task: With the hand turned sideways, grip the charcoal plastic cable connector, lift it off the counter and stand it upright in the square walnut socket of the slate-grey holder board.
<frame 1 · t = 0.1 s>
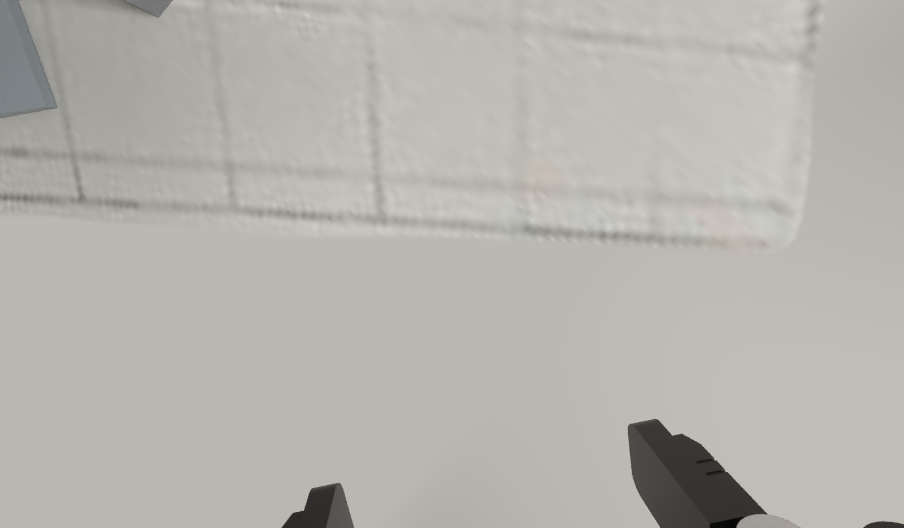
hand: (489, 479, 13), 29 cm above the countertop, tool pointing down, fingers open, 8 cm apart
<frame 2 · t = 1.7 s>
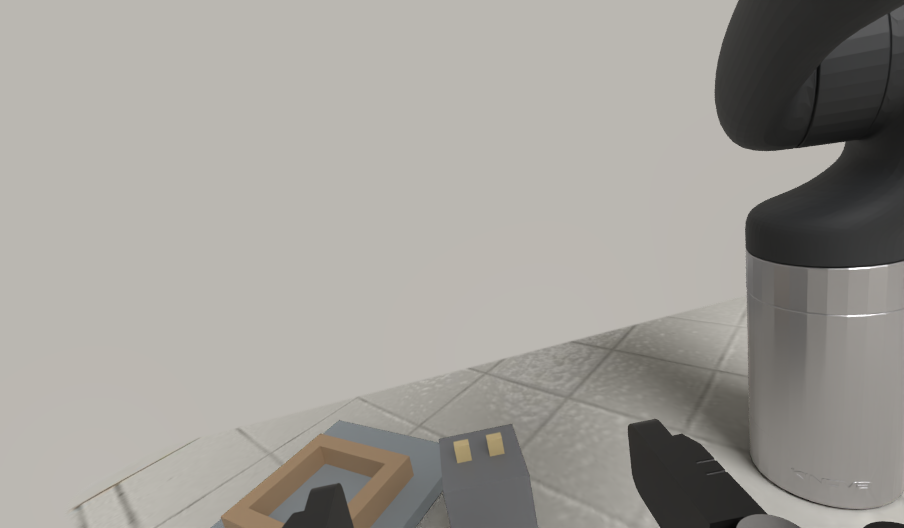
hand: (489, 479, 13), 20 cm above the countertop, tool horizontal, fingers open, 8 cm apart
holder: (328, 516, 40), on the countertop
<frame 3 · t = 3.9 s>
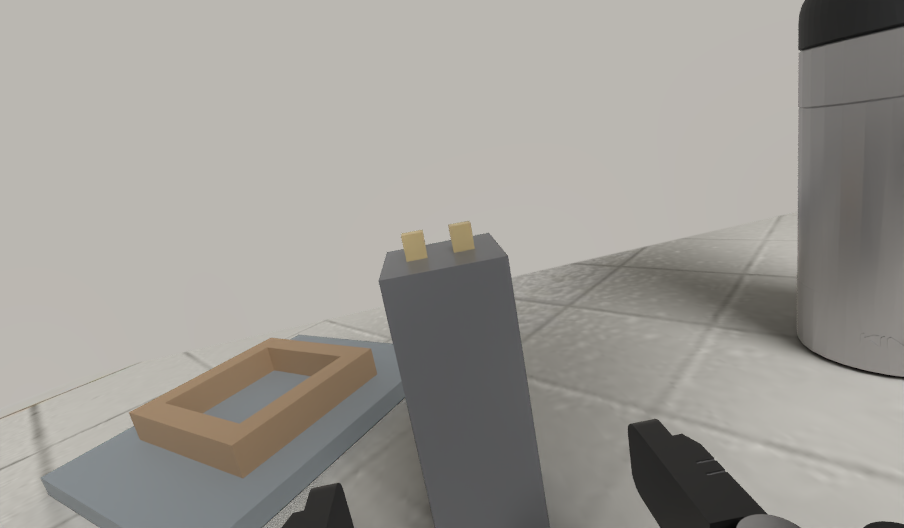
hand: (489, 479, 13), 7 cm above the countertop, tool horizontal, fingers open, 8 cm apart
holder: (269, 420, 32), on the countertop
connector: (490, 513, 21), on the countertop
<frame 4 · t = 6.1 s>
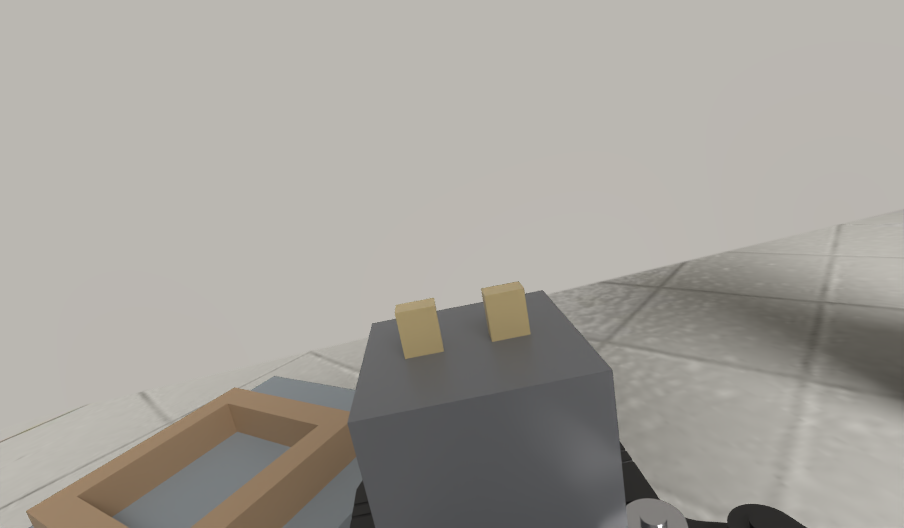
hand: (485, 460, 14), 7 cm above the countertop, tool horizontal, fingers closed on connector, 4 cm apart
holder: (222, 512, 24), on the countertop
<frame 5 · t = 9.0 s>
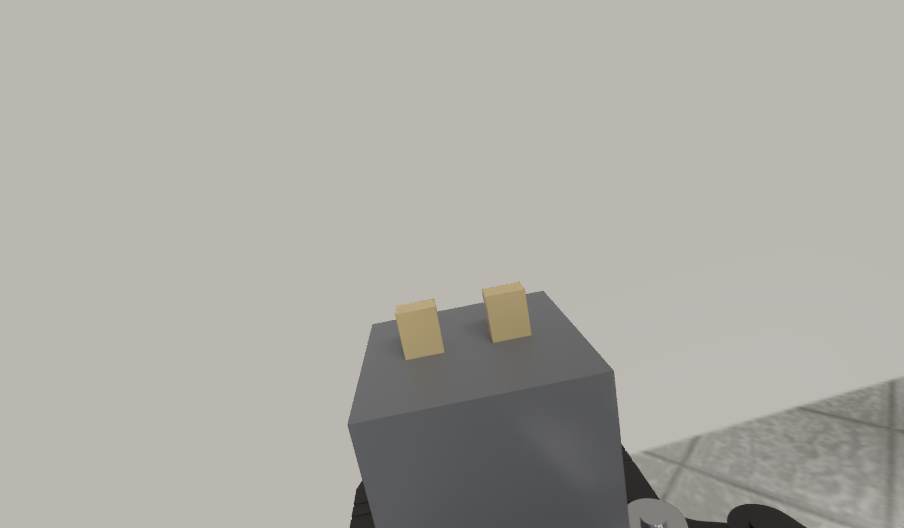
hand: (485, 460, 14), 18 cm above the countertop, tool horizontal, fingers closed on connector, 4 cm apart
when the fingers open (10 cm above the countertop, at t = 12.1 s): connector drops 1 cm, resting on holder.
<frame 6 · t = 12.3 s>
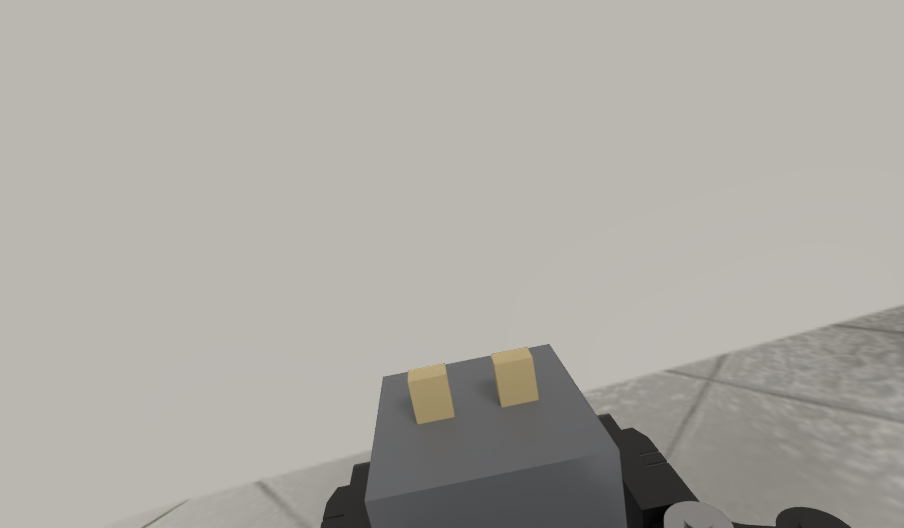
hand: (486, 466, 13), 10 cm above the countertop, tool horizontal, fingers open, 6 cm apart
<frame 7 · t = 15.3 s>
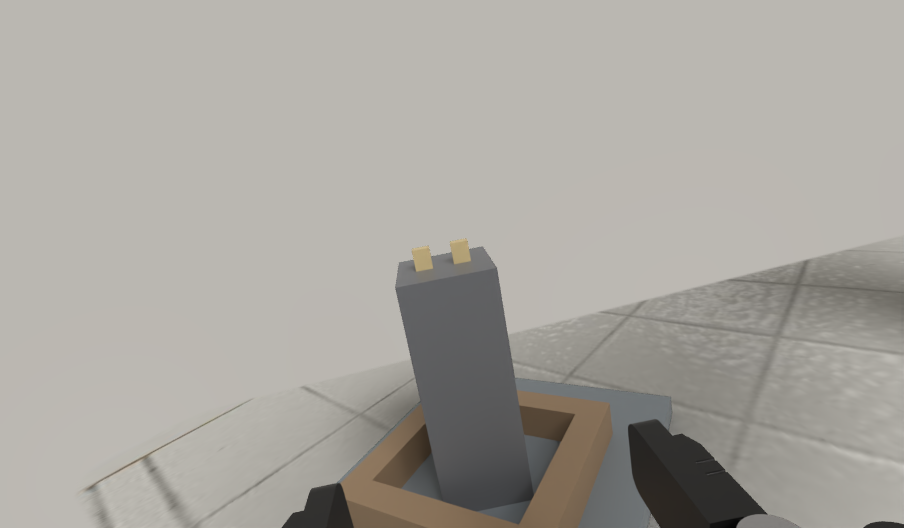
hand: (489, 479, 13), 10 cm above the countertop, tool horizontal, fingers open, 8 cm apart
holder: (487, 495, 25), on the countertop
connector: (484, 477, 25), point 1 cm above the countertop, touching holder
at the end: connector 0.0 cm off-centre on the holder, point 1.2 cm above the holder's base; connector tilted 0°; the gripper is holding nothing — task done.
